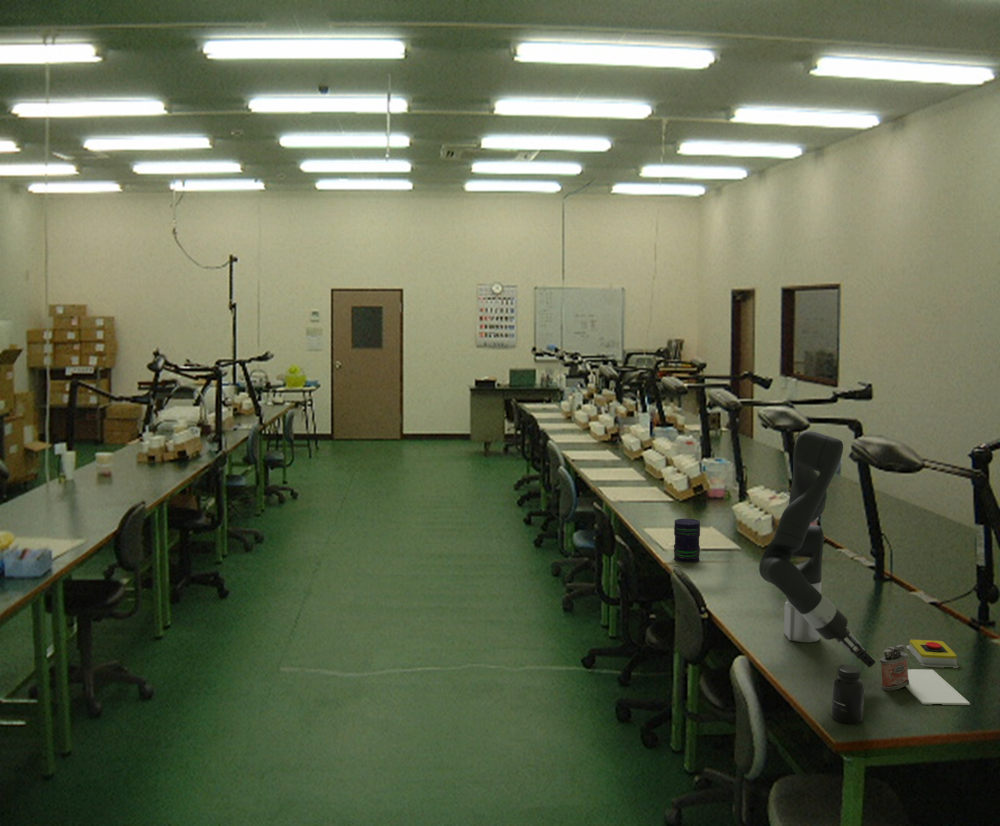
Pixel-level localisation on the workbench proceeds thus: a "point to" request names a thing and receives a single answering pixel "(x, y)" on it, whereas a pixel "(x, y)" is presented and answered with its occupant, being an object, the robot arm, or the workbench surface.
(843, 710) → the supplement bottle
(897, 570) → the workbench surface
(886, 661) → the lighter
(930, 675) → the mat
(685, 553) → the storage jar
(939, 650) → the emergency button
